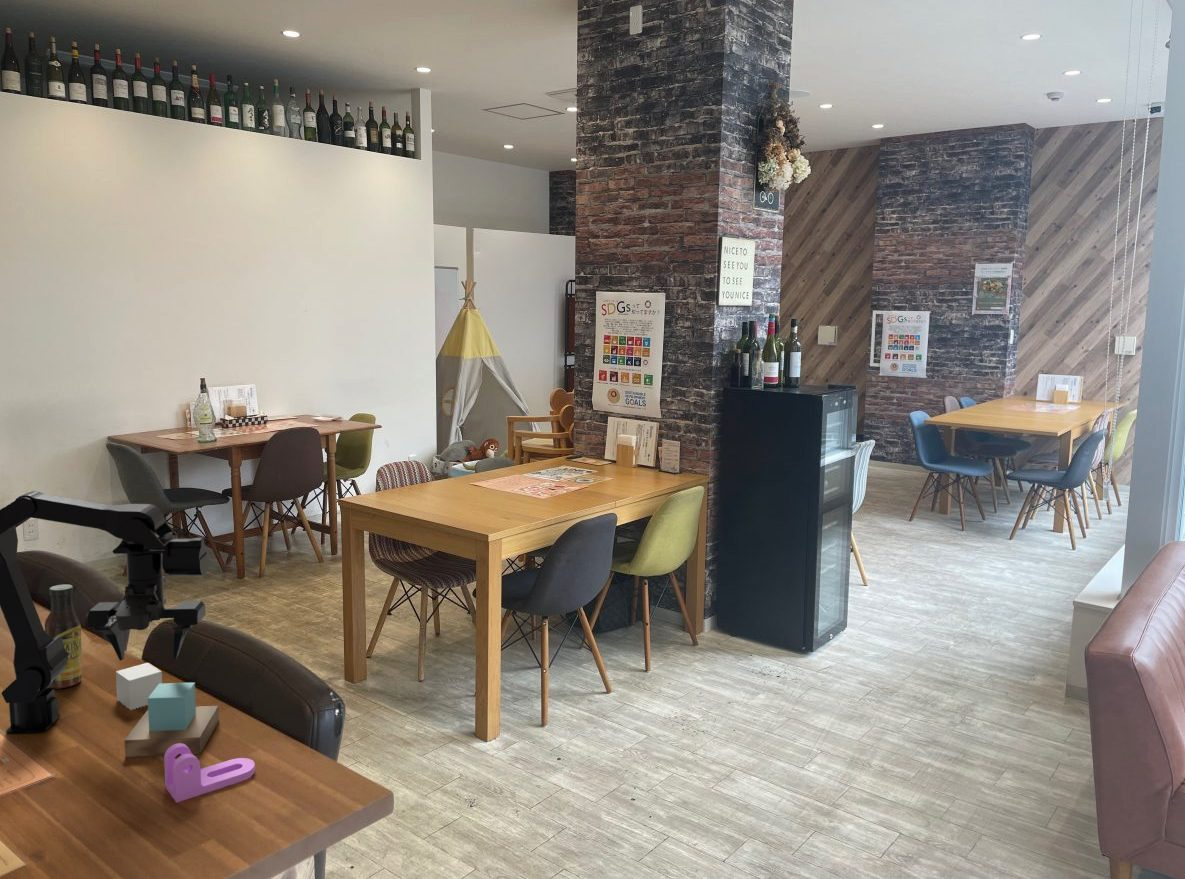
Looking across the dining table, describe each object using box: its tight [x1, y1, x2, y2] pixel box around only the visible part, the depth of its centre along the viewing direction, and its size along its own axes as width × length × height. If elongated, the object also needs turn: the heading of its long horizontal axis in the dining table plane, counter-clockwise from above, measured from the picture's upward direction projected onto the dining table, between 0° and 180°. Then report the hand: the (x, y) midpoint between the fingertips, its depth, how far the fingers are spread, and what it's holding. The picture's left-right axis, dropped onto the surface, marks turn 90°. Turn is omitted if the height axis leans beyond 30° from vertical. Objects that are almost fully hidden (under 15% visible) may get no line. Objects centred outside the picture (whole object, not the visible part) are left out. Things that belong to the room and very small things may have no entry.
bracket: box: [163, 743, 256, 804], centre depth 143 cm, size 13×6×7 cm, turn 132°
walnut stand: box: [124, 705, 220, 758], centre depth 156 cm, size 12×12×3 cm
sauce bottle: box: [44, 584, 83, 689], centre depth 175 cm, size 7×6×20 cm
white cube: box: [115, 662, 163, 711], centre depth 170 cm, size 6×6×6 cm
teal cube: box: [147, 682, 197, 731], centre depth 156 cm, size 6×6×6 cm
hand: (148, 658), depth 161 cm, fingers open, 9 cm apart
